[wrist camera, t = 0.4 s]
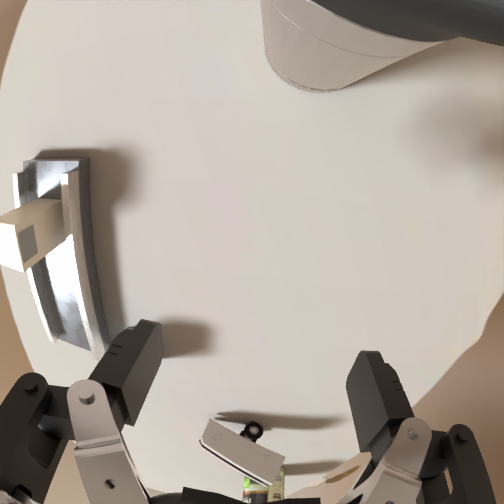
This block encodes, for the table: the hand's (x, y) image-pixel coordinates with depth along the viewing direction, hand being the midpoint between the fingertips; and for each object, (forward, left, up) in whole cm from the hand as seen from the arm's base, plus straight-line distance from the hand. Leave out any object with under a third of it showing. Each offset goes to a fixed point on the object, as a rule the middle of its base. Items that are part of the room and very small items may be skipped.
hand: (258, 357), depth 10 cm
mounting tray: (+10, -25, -18) cm, 33 cm away
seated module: (+3, -25, -16) cm, 30 cm away
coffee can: (+65, +11, -19) cm, 69 cm away
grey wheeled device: (+40, +10, -11) cm, 42 cm away
